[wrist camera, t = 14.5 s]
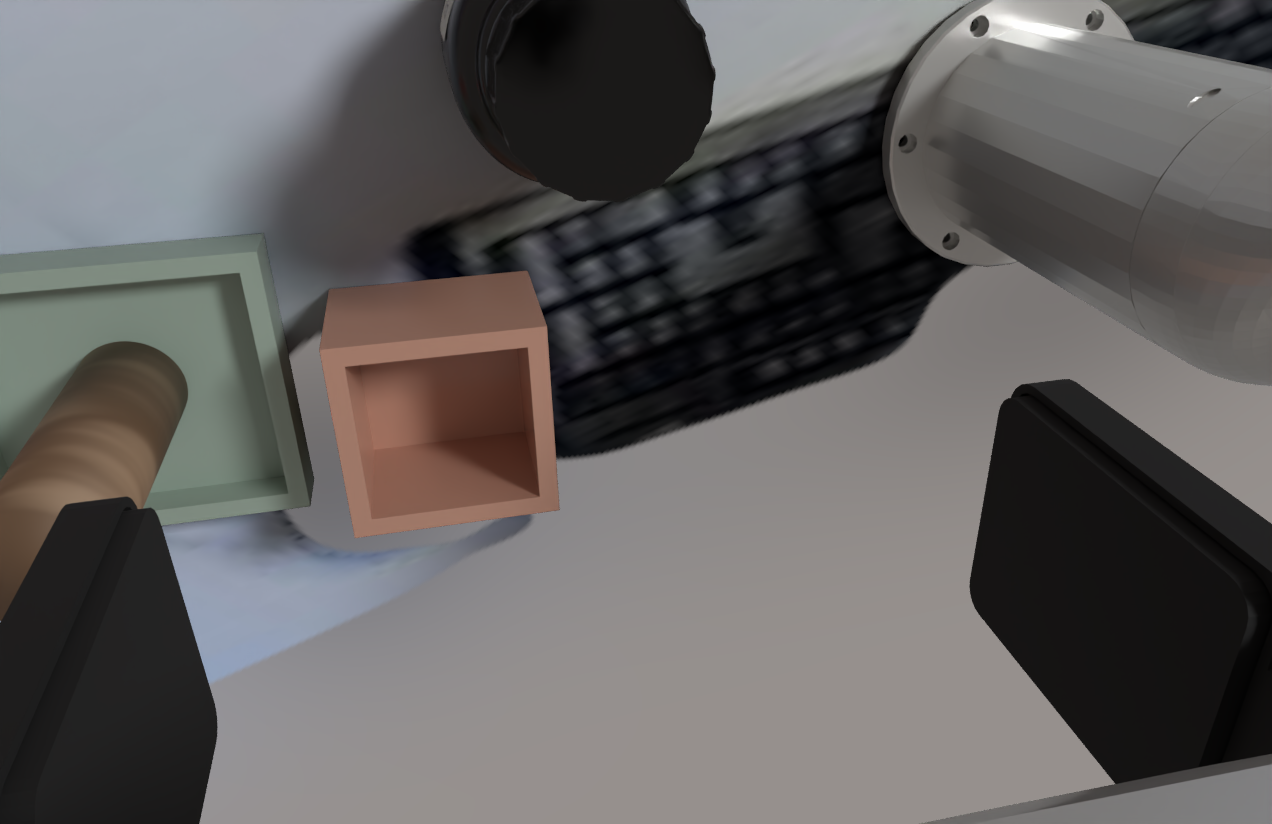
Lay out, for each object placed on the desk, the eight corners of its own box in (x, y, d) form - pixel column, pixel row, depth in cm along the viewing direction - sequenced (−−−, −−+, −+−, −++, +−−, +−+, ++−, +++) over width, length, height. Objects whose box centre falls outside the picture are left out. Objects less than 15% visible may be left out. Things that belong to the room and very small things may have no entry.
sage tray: (263, 233, 41) (256, 251, 39) (314, 478, 47) (310, 506, 45) (-83, 262, 39) (-110, 283, 37) (14, 516, 44) (-4, 547, 42)
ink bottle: (643, -112, 38) (736, -112, 28) (686, 115, 43) (780, 187, 32) (398, -48, 37) (399, -24, 27) (467, 176, 42) (492, 271, 31)
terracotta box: (527, 270, 44) (546, 326, 39) (540, 437, 48) (559, 510, 43) (329, 289, 43) (319, 349, 37) (359, 460, 47) (355, 538, 41)
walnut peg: (174, 336, 41) (88, 503, 30) (198, 427, 44) (127, 616, 32) (61, 347, 41) (-70, 523, 29) (91, 439, 43) (-20, 637, 32)
